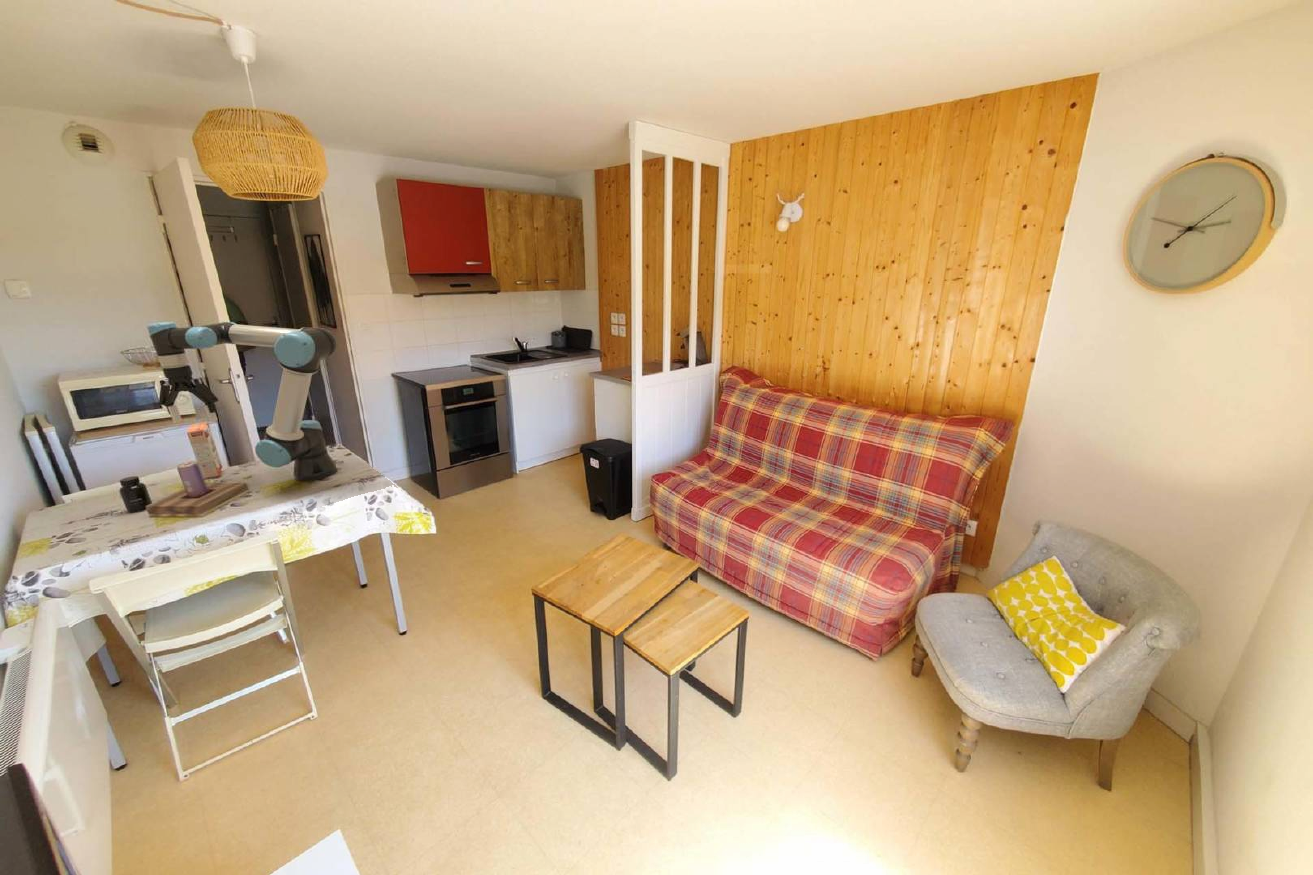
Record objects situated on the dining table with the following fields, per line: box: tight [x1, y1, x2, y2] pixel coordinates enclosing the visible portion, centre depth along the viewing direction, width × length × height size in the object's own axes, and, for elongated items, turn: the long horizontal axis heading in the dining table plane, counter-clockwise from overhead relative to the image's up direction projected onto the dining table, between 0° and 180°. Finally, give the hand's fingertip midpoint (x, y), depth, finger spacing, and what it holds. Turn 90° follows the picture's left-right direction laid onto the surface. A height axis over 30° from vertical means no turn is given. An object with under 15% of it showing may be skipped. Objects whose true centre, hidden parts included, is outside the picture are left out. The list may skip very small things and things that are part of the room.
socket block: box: [145, 481, 250, 518], centre depth 186 cm, size 20×20×4 cm
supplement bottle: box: [119, 475, 153, 513], centre depth 182 cm, size 7×7×12 cm
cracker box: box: [186, 421, 223, 479], centre depth 212 cm, size 14×6×21 cm, turn 36°
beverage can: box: [176, 460, 209, 498], centre depth 184 cm, size 6×6×15 cm
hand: (196, 421), depth 189 cm, fingers open, 13 cm apart
